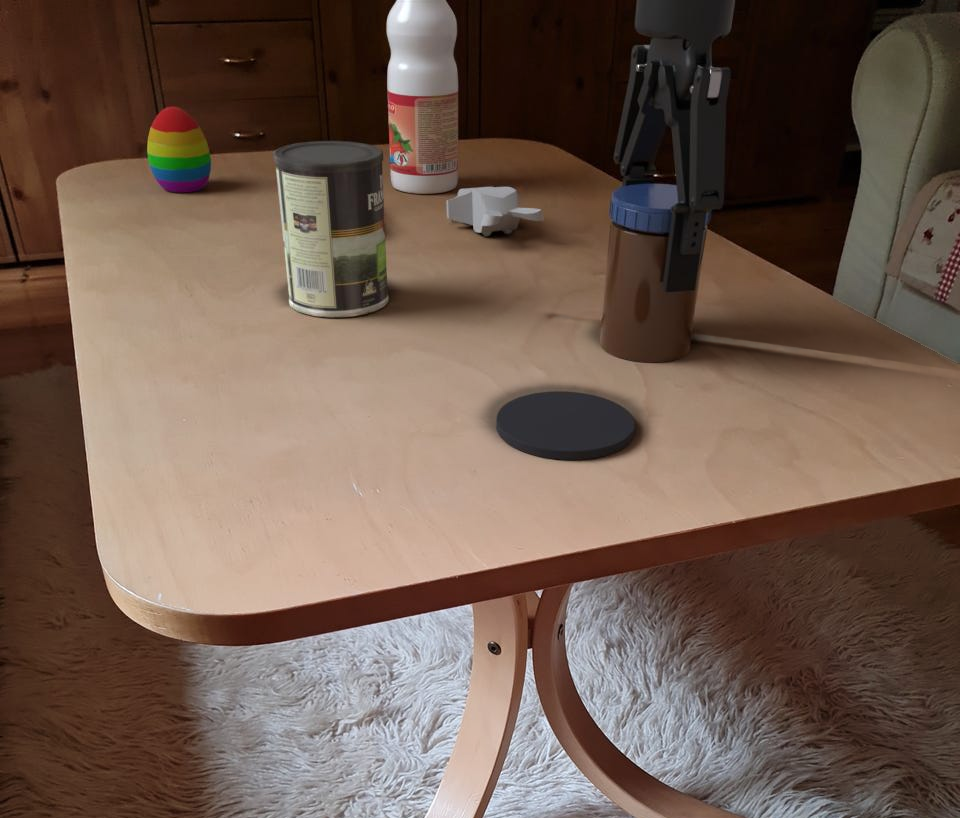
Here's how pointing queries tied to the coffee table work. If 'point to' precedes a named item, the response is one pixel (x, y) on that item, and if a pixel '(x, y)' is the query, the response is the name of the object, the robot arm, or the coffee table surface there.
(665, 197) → the jar lid
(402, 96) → the fruit juice
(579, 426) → the coaster
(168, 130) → the decorative egg
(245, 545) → the coffee table surface
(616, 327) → the jar
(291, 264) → the coffee can
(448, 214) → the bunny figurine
